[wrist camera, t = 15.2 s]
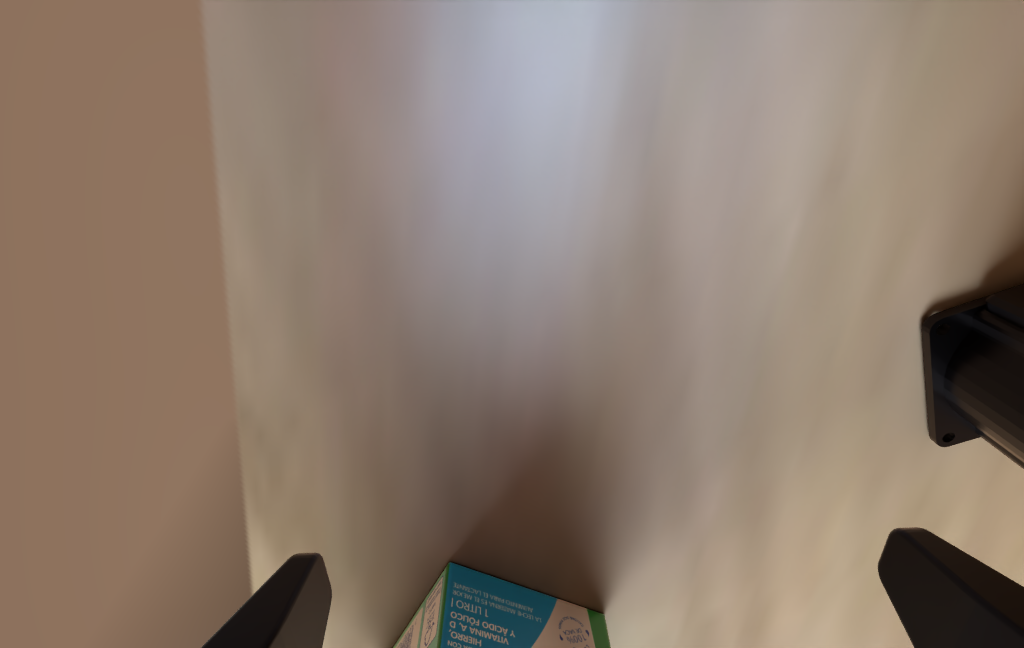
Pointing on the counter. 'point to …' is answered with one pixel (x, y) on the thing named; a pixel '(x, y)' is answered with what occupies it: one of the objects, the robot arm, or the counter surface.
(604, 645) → the milk carton
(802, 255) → the counter surface
